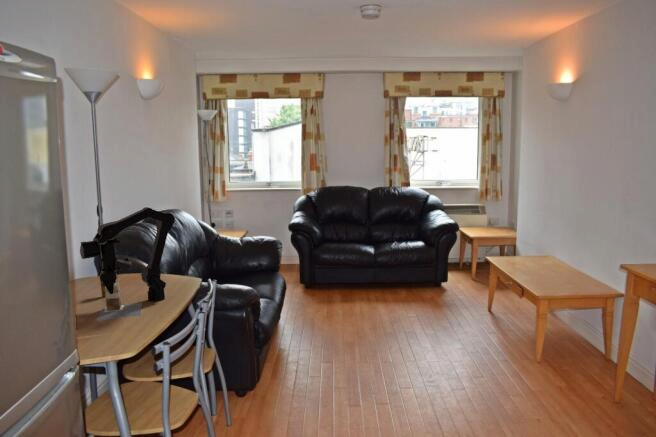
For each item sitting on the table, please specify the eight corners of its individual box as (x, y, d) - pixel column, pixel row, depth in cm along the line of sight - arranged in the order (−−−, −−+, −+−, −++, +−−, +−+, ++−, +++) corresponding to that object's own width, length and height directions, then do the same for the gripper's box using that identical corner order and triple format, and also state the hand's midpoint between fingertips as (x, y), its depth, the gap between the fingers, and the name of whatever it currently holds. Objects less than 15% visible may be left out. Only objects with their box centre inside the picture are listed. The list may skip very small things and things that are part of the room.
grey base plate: (142, 304, 233) (142, 302, 232) (140, 317, 215) (140, 315, 215) (102, 309, 228) (102, 307, 228) (96, 322, 211) (96, 320, 211)
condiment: (107, 299, 243) (105, 272, 241) (95, 296, 247) (92, 271, 245) (121, 294, 249) (118, 269, 248) (108, 292, 254) (106, 267, 252)
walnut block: (121, 306, 229) (119, 294, 228) (120, 309, 224) (118, 297, 223) (108, 307, 227) (107, 295, 227) (107, 311, 223) (105, 299, 222)
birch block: (107, 295, 227) (106, 284, 226) (120, 294, 228) (119, 283, 227) (105, 299, 222) (104, 287, 221) (118, 297, 223) (117, 286, 222)
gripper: (127, 257, 215) (131, 295, 218) (131, 248, 233) (134, 284, 236) (97, 260, 213) (101, 298, 215) (103, 251, 230) (107, 286, 233)
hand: (112, 291), depth 225 cm, fingers open, 6 cm apart
